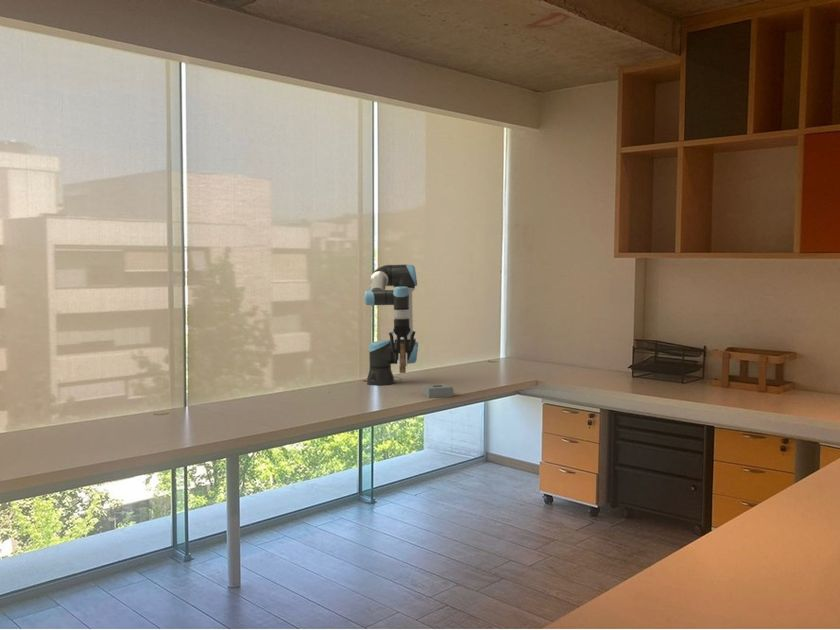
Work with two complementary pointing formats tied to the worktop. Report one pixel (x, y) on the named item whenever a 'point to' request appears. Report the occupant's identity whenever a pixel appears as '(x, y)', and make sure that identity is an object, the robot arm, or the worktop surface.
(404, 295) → the robot arm
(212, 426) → the worktop surface
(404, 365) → the dowel
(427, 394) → the socket block
